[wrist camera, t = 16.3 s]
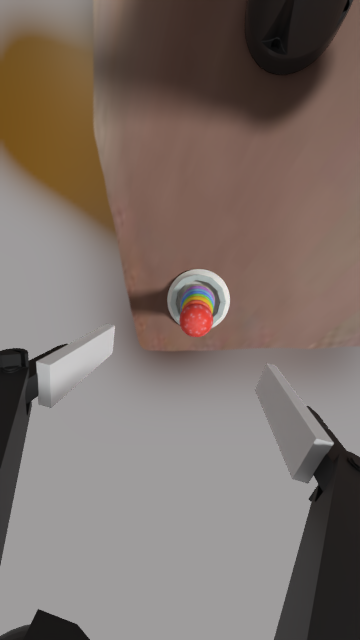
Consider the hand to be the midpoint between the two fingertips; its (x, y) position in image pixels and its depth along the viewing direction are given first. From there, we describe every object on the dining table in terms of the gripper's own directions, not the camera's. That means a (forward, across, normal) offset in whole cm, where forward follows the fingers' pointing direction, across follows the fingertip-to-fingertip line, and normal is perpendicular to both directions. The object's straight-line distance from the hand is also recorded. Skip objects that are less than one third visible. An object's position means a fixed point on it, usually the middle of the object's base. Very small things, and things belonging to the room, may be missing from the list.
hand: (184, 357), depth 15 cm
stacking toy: (+28, 0, 0) cm, 28 cm away
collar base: (+29, 0, 0) cm, 29 cm away
